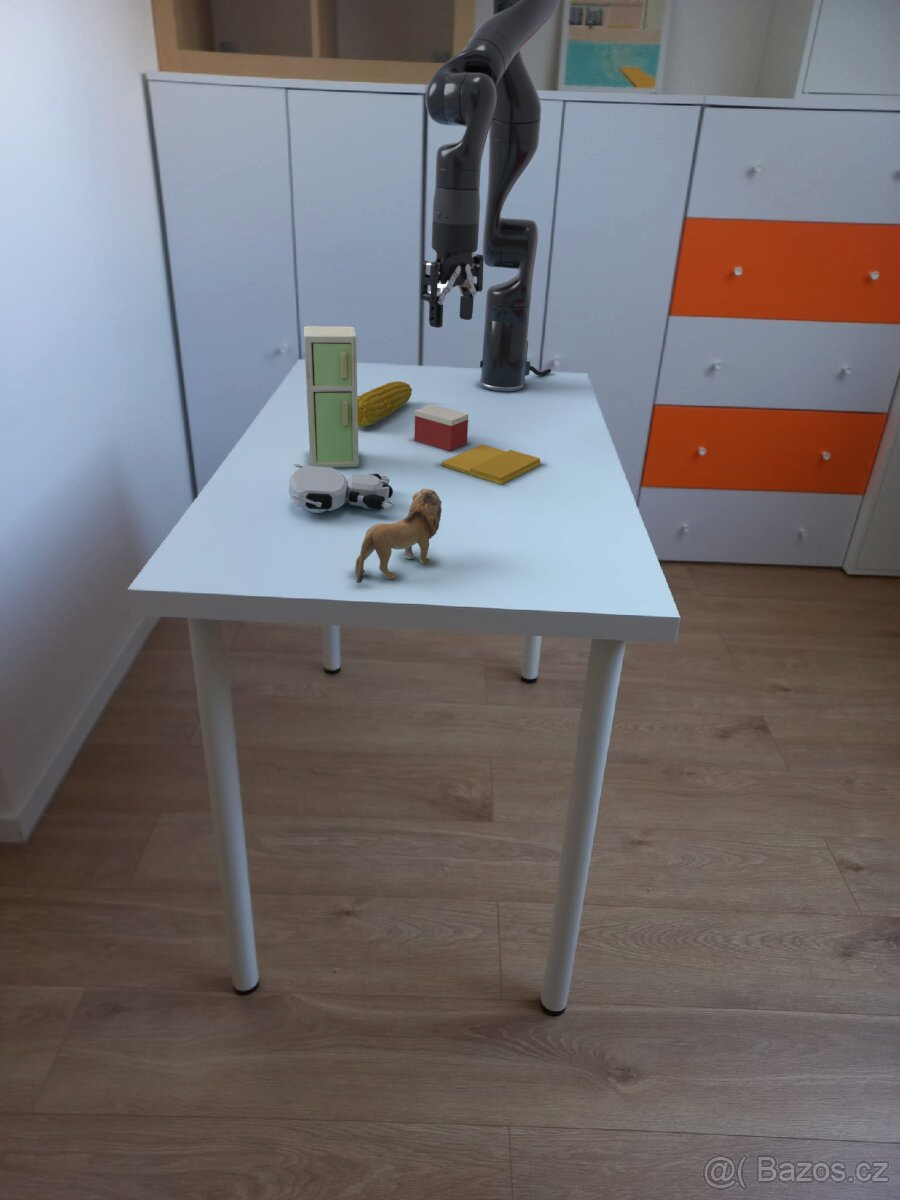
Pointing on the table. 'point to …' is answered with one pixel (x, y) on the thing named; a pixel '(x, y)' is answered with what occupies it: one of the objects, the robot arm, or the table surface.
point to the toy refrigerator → (332, 395)
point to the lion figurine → (403, 533)
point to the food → (381, 402)
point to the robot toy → (338, 489)
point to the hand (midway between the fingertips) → (451, 322)
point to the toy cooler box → (441, 427)
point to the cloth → (492, 463)
